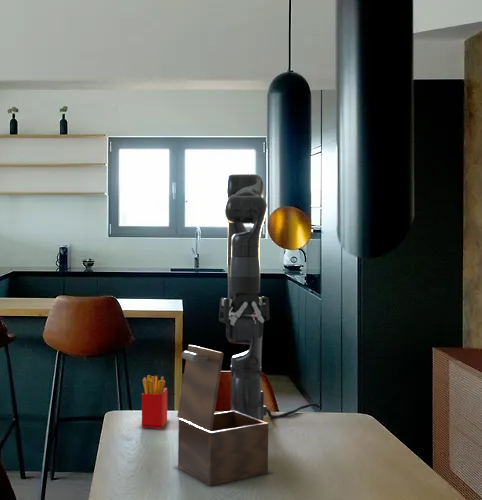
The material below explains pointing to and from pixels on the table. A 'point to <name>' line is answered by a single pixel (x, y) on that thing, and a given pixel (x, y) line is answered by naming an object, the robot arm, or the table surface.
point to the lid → (200, 386)
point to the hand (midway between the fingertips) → (244, 338)
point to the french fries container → (154, 403)
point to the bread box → (224, 448)
